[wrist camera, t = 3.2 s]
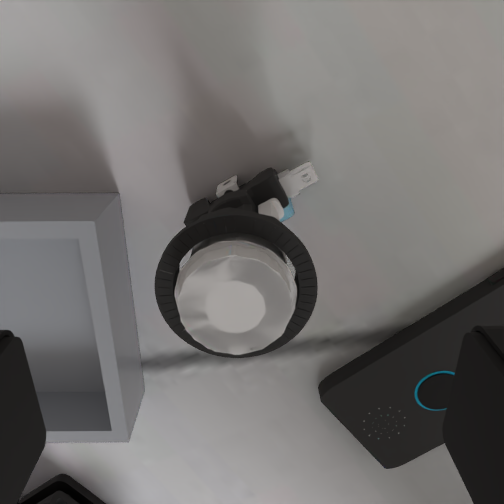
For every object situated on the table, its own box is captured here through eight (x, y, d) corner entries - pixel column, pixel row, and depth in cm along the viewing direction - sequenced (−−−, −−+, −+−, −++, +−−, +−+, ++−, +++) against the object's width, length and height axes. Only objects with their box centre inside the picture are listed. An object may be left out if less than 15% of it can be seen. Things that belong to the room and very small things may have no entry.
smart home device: (314, 397, 27) (660, 190, 22) (311, 377, 28) (632, 180, 23) (389, 475, 30) (713, 308, 24) (382, 453, 31) (684, 292, 26)
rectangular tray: (119, 193, 23) (94, 221, 19) (144, 390, 28) (128, 442, 25) (-93, 193, 23) (-157, 222, 19) (-28, 391, 28) (-69, 443, 25)
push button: (287, 117, 22) (314, 171, 12) (335, 211, 23) (388, 318, 14) (168, 184, 23) (113, 278, 14) (223, 268, 25) (206, 398, 16)
